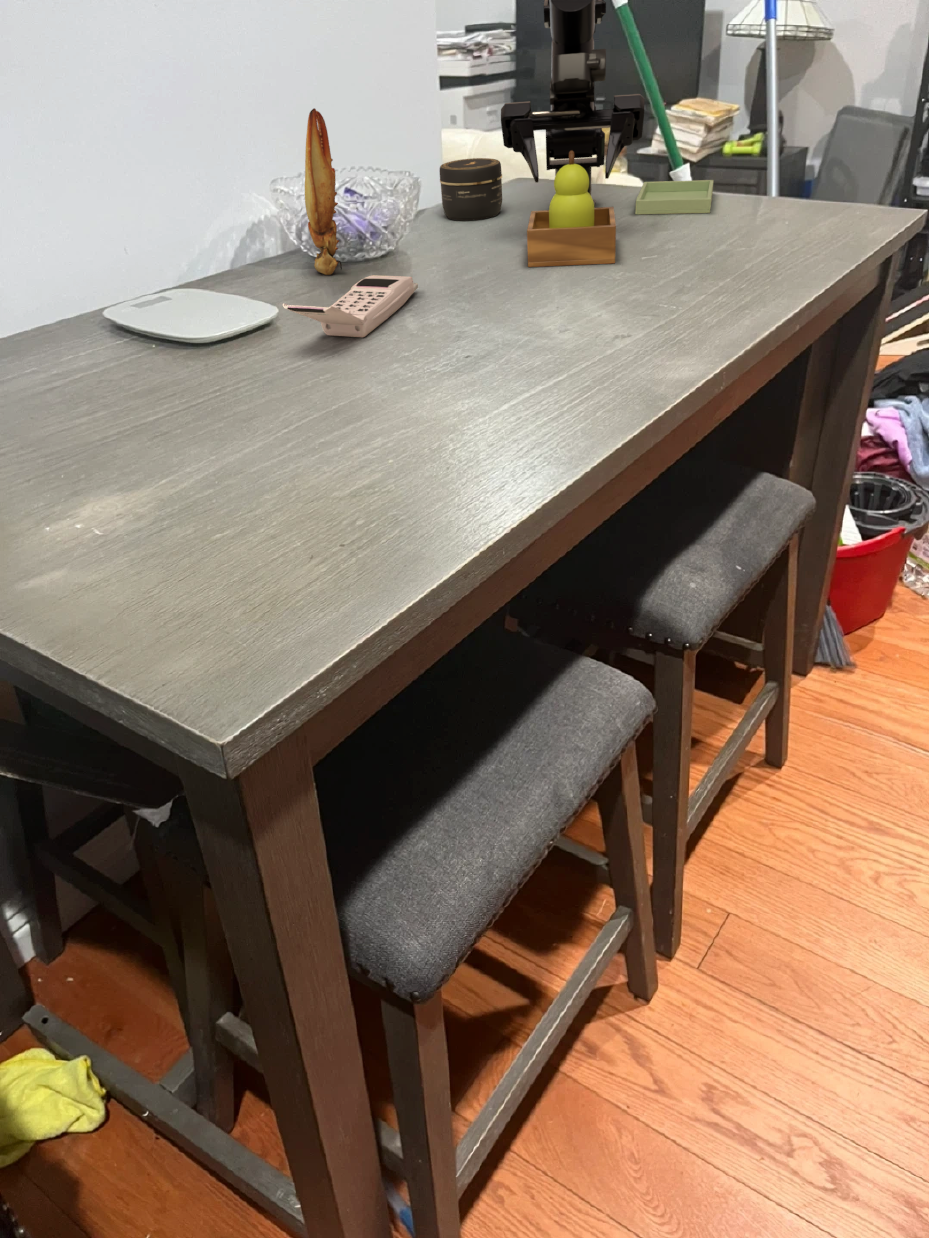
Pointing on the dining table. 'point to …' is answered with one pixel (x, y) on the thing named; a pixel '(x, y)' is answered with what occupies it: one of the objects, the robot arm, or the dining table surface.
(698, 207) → the tray
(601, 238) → the wooden box
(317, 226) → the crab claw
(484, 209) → the jar
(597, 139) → the robot arm
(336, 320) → the mobile phone
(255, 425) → the dining table surface
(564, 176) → the pear
